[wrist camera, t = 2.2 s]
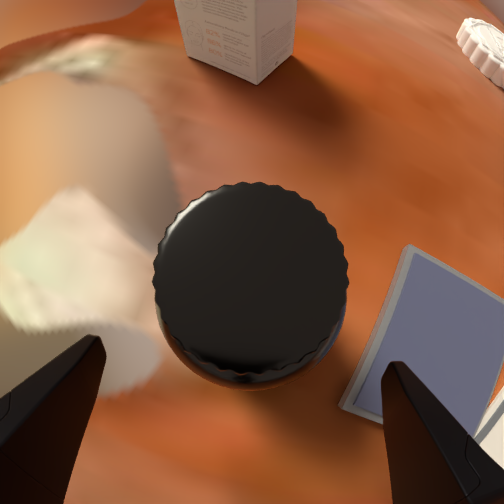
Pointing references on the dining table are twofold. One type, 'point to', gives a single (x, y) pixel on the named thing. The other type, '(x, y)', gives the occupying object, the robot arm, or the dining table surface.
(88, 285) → the dining table surface
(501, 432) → the marked card
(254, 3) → the small box
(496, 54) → the mooncake
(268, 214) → the supplement bottle
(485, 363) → the pad
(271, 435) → the dining table surface
